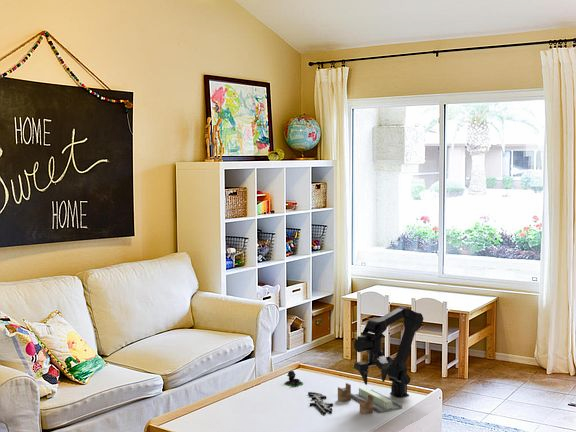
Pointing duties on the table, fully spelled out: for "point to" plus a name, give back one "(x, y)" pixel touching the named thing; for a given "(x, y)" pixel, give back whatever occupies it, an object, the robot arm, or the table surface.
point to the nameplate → (320, 403)
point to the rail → (376, 397)
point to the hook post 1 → (344, 393)
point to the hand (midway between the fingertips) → (374, 383)
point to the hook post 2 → (366, 405)
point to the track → (376, 406)
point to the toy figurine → (293, 380)
